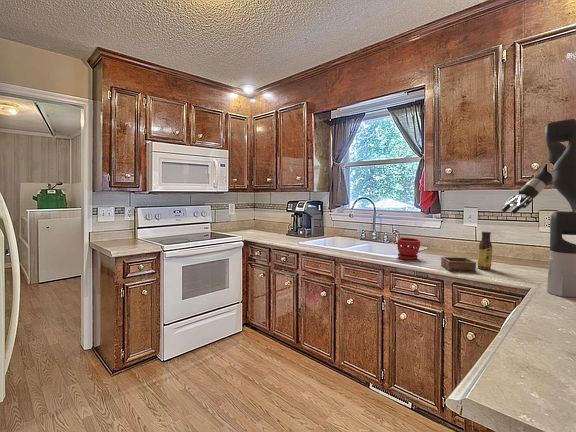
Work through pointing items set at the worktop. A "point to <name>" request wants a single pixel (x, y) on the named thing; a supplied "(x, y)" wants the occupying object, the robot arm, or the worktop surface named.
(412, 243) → the plant pot
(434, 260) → the worktop surface
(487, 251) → the sauce bottle
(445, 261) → the brown wooden tray
